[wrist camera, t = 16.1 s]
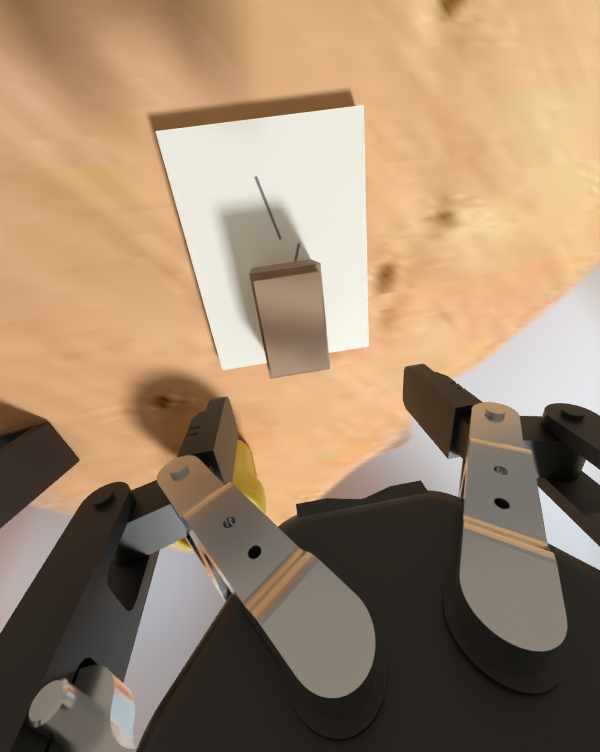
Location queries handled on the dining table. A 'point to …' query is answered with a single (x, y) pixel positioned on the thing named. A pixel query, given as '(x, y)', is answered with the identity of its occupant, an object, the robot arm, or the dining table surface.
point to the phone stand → (30, 466)
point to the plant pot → (242, 482)
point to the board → (273, 217)
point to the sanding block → (291, 317)
